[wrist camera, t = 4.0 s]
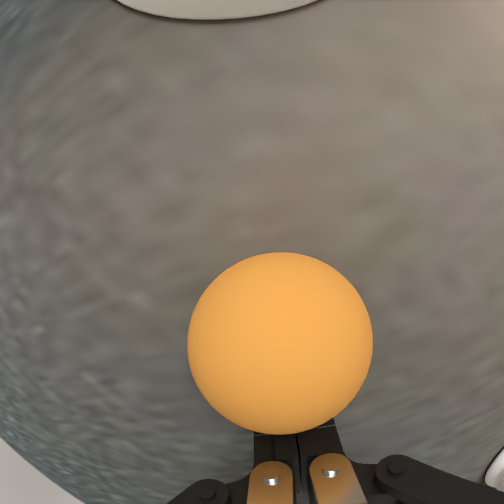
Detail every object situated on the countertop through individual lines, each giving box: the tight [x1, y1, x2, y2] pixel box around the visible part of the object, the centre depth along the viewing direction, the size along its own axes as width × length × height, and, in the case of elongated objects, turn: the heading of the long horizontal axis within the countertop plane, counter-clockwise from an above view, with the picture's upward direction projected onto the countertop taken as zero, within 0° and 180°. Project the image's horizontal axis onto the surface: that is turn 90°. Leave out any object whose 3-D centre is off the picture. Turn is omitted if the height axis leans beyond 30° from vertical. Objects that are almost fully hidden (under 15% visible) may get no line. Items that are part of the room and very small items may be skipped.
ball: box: [187, 252, 373, 435], centre depth 9 cm, size 6×6×6 cm
